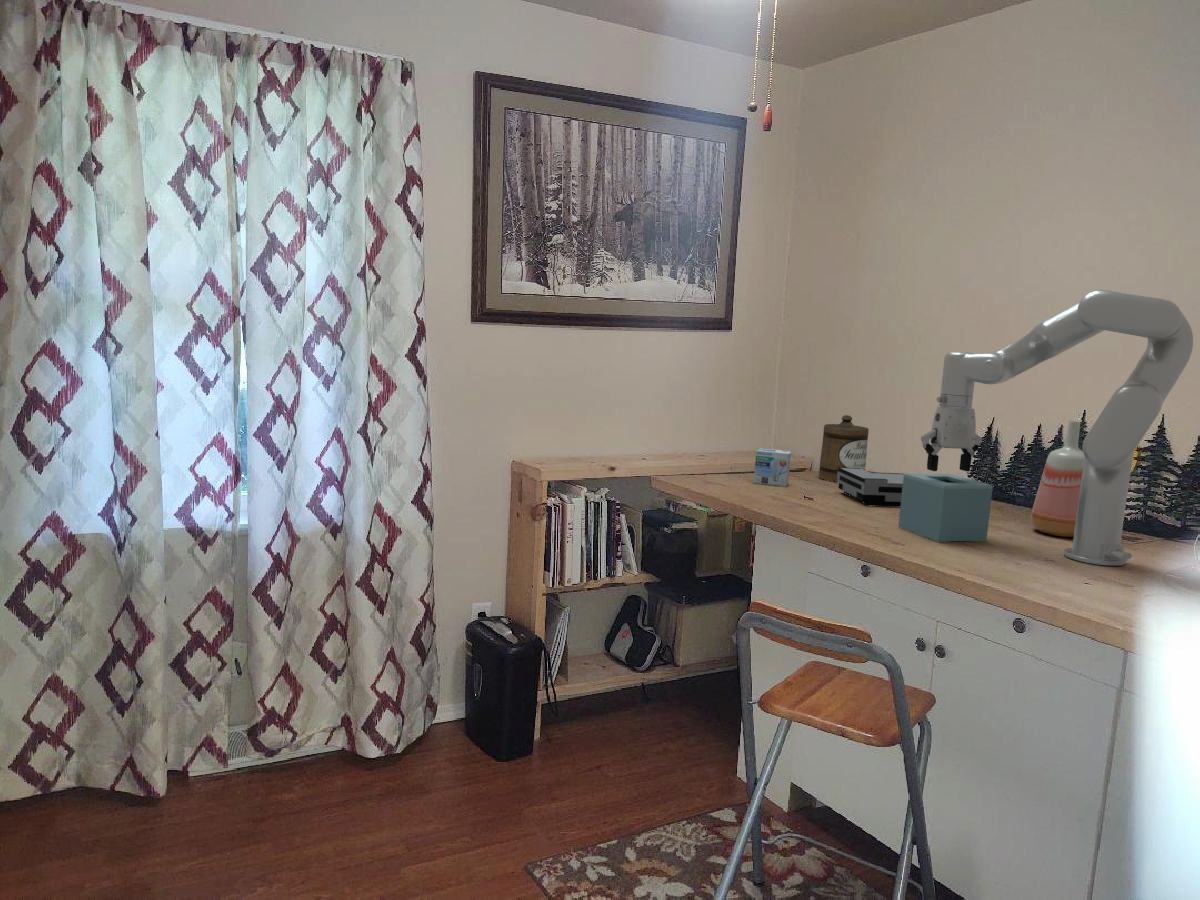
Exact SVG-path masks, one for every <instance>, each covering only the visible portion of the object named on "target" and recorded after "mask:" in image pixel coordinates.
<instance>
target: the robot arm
mask: <svg viewBox="0 0 1200 900" xmlns="http://www.w3.org/2000/svg"><path fill="white" fill-rule="evenodd" d="M1104 331H1107V332H1113V333H1119V334H1124V335H1130V336H1134V337H1135V336H1136V337H1142V338H1147V346H1146V349H1145V351H1144V352H1143V354H1142V356H1141V357H1140V359H1139V360H1138V361H1137V364H1136V365H1135V367H1134V369H1133V371H1132V372H1131V373H1130V375H1129V376H1128V377H1127V379H1126V381H1125V382H1124V383H1123V384H1122V385H1121V386H1120V387H1119V388H1117V389H1116V390H1115V391H1114V393H1113V394H1112V395H1111V397H1110V399H1108V402H1107V403H1106V405H1105V406H1104V408H1103V409H1102V411H1101V412H1100V414H1099V415H1098V417H1097V419H1096V420H1095V422H1094V423H1093V425H1092V427H1091V428H1090V430H1089V431H1088V433H1087V434H1086V436H1085V437H1084V439H1083V443H1082V451H1083V453H1084V456H1085V459H1084V465H1083V472H1082V479H1081V486H1080V493H1079V501H1078V508H1077V516H1076V524H1075V531H1074V537H1073V539H1072V546H1071V547H1067V548H1065V549H1064V550H1063V554H1064V556H1065V557H1067V558H1068V559H1072V560H1074V561H1077V562H1081V563H1086V564H1092V565H1097V566H1099V565H1100V566H1109V567H1110V566H1111V567H1112V566H1113V567H1114V566H1115V567H1117V566H1120V567H1121V566H1124V565H1125V564H1126V563H1127V561H1128V560H1130V559H1131V558H1132V556H1133V554H1132V553H1130V552H1127V551H1124V547H1125V545H1124V544H1122V543H1121V540H1122V536H1123V535H1122V534H1123V526H1124V522H1125V521H1124V520H1125V519H1124V518H1125V514H1126V513H1125V512H1126V505H1127V498H1128V492H1129V486H1130V478H1131V473H1132V471H1131V470H1132V466H1133V461H1134V456H1135V455H1134V454H1135V450H1136V448H1137V447H1138V446H1139V444H1140V443H1141V442H1142V440H1143V438H1144V437H1145V435H1146V433H1147V432H1148V431H1149V429H1150V428H1151V426H1152V424H1153V423H1154V422H1155V421H1156V419H1157V418H1158V416H1159V414H1160V412H1161V410H1162V407H1163V404H1164V402H1165V401H1166V399H1167V397H1168V396H1169V394H1170V392H1171V391H1172V389H1173V387H1174V386H1175V385H1176V383H1177V381H1178V380H1179V378H1180V376H1181V375H1182V373H1183V371H1184V370H1185V368H1186V366H1187V365H1188V363H1189V360H1190V359H1191V356H1192V353H1193V349H1194V334H1193V330H1192V327H1191V325H1190V322H1189V321H1188V320H1187V318H1186V316H1185V315H1184V313H1183V312H1182V311H1181V309H1180V307H1179V306H1178V305H1177V304H1176V303H1174V302H1173V301H1170V300H1169V299H1165V298H1159V297H1153V296H1152V297H1151V296H1144V295H1139V294H1130V293H1126V292H1118V291H1114V290H1113V291H1112V290H1109V289H1096V290H1092V291H1090V292H1088V293H1086V294H1085V295H1084V296H1083V297H1082V298H1081V299H1080V300H1079V301H1078V302H1075V303H1074V304H1072V305H1071V306H1068V307H1067V308H1065V309H1063V310H1061V311H1059V312H1058V313H1056V314H1054V315H1052V316H1050V317H1048V318H1046V319H1044V320H1042V321H1041V322H1039V323H1037V324H1036V325H1034V327H1033V329H1032V330H1031V331H1030V332H1028V333H1027V334H1026V335H1024V336H1023V337H1021V338H1020V339H1018V340H1016V341H1015V342H1013V343H1011V344H1009V345H1007V346H1006V347H1004V348H1002V349H999V350H998V351H996V352H988V353H987V352H986V353H974V352H968V351H949V352H947V353H946V354H945V355H944V359H943V366H942V368H943V369H942V376H941V387H940V394H939V395H940V396H938V397H936V402H937V403H938V406H937V407H936V410H935V413H934V417H933V420H932V426H931V430H930V431H928V432H927V433H925V434H923V435H922V436H920V441H921V444H922V447H923V448H924V449H923V450H925V453H926V454H927V462H926V466H927V467H926V469H927V470H928V471H931V472H937V471H938V466H939V458H940V456H939V455H938V453H939V452H940V451H941V449H942V448H944V449H961V452H962V453H961V454H960V460H959V467H958V468H959V470H960V471H963V472H970V471H971V466H972V458H973V456H974V455H975V453H976V452H977V451H978V450H979V447H980V445H981V443H982V442H983V438H982V437H981V436H980V435H979V434H977V433H976V429H977V428H976V425H977V423H976V422H977V420H976V412H975V408H972V407H973V400H974V399H973V398H974V392H975V391H974V389H975V383H978V384H979V383H980V384H985V385H997V384H1003V383H1006V382H1008V381H1009V380H1011V379H1013V378H1016V377H1017V376H1019V375H1021V374H1022V373H1025V372H1027V371H1028V370H1031V369H1032V368H1034V367H1036V366H1038V365H1040V364H1042V363H1043V362H1045V361H1048V360H1050V359H1053V358H1055V357H1057V356H1058V355H1061V354H1062V353H1064V352H1066V351H1067V350H1070V349H1071V348H1073V347H1075V346H1077V345H1079V344H1080V343H1083V342H1085V341H1086V340H1087V341H1088V340H1089V339H1091V338H1093V337H1095V336H1097V335H1098V334H1101V333H1102V332H1104Z"/></svg>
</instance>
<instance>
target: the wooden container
mask: <svg viewBox="0 0 1200 900" xmlns="http://www.w3.org/2000/svg"><path fill="white" fill-rule="evenodd" d="M841 420H842V421H841V422H840V423H838V424H837V423H828V424H824V426H823V436H822V443H821V444H822V445H821V451H820V457H819V458H820V459H819V471H818V478H819V479H820V478H821V480H822V479H824V480H823V481H826V480H829V481H828V482H830V481H835V482H834V483H837V473H838V467H846V468H860V469H863V470H865V471H866V465H867V452H868V450H867V449H868V438H869V428H868V427H866V426H860V425H854V424H853V422H852V421H853V417H852V416H851V415H848V414H847V415H845V414H844V415H842V417H841Z"/></svg>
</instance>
